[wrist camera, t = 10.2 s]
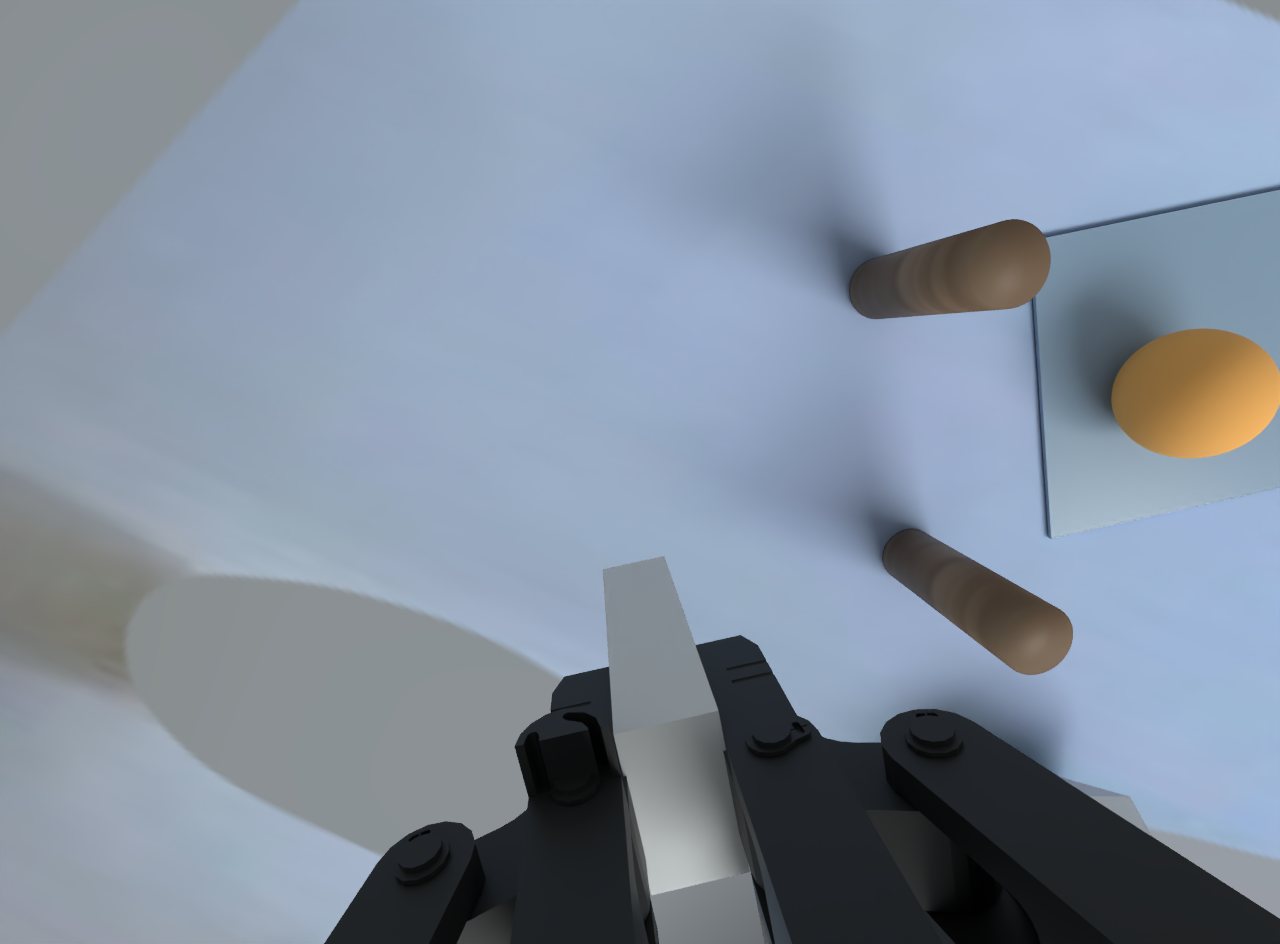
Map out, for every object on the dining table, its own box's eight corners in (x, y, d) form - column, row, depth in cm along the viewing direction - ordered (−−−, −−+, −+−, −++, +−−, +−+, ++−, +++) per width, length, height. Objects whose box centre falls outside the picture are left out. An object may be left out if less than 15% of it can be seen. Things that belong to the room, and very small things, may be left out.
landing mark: (1048, 537, 31) (1051, 538, 31) (1029, 241, 28) (1031, 240, 28) (1317, 477, 32) (1322, 478, 32) (1326, 180, 29) (1331, 179, 29)
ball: (1295, 446, 27) (1139, 440, 32) (1302, 313, 26) (1139, 328, 31) (1256, 477, 24) (1090, 467, 29) (1261, 330, 23) (1088, 343, 28)
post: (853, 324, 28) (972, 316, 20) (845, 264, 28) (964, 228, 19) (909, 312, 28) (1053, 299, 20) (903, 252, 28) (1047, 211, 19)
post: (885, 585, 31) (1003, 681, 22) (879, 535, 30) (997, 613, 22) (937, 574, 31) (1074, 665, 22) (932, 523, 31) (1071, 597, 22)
